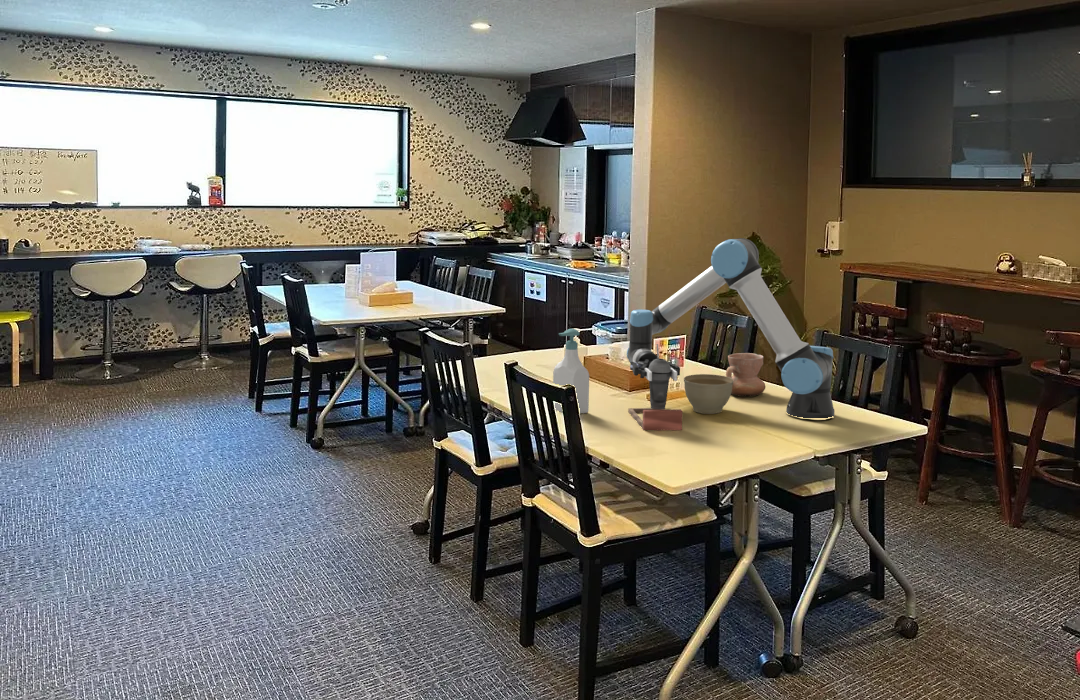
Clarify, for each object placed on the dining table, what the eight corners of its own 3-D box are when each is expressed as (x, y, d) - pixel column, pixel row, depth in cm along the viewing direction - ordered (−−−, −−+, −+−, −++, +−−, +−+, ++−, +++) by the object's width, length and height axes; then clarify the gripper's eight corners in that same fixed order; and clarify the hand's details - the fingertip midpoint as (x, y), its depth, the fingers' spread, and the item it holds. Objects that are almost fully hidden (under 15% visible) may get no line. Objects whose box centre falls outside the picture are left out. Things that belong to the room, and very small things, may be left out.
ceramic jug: (745, 387, 338) (746, 350, 336) (776, 394, 327) (777, 355, 324) (710, 394, 328) (711, 355, 326) (740, 402, 317) (742, 361, 314)
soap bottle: (548, 409, 302) (549, 327, 297) (568, 406, 306) (569, 325, 302) (568, 416, 293) (569, 332, 288) (588, 413, 298) (590, 330, 293)
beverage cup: (663, 411, 279) (666, 347, 275) (642, 408, 282) (644, 344, 279) (673, 407, 285) (676, 344, 281) (652, 403, 289) (655, 341, 285)
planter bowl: (679, 404, 311) (681, 373, 309) (727, 405, 310) (729, 374, 308) (685, 416, 295) (686, 383, 293) (735, 417, 294) (737, 384, 293)
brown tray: (628, 411, 300) (628, 394, 299) (663, 411, 301) (664, 393, 300) (643, 430, 277) (644, 411, 276) (681, 430, 278) (682, 410, 277)
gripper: (675, 372, 301) (694, 388, 279) (615, 373, 299) (630, 388, 276) (676, 350, 300) (696, 364, 277) (616, 350, 297) (631, 364, 275)
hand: (663, 376), depth 277 cm, fingers closed on beverage cup, 7 cm apart
